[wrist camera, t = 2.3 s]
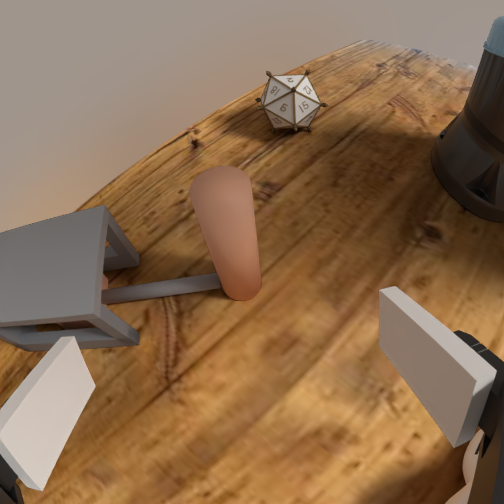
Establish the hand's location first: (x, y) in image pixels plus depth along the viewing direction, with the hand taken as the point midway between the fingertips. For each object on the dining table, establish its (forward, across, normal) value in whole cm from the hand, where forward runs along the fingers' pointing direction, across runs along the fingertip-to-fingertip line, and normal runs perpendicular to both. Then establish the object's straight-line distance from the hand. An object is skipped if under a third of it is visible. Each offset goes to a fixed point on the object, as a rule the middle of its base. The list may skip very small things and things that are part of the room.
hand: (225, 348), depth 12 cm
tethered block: (+17, -8, -3) cm, 19 cm away
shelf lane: (+17, -16, -3) cm, 24 cm away
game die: (+32, +10, +11) cm, 35 cm away
